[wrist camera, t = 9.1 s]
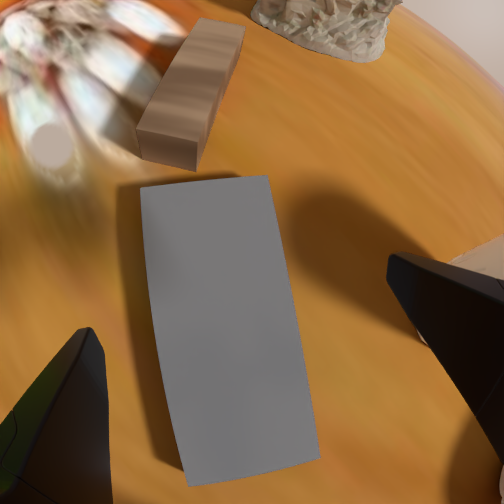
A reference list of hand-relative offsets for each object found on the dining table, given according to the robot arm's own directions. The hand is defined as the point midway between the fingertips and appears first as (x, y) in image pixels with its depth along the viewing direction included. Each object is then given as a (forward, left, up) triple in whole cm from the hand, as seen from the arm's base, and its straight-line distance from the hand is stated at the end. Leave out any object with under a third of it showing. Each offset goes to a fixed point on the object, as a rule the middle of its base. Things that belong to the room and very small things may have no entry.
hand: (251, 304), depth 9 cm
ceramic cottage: (+35, -5, -12) cm, 37 cm away
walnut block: (+10, +6, -10) cm, 15 cm away
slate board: (0, 0, -11) cm, 11 cm away
